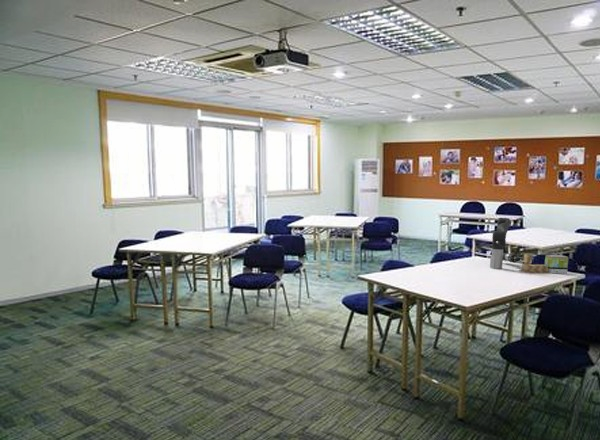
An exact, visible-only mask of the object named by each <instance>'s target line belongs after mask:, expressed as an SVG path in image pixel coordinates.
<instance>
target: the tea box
mask: <svg viewBox="0 0 600 440" xmlns="http://www.w3.org/2000/svg"><path fill="white" fill-rule="evenodd" d="M544 265H547V266H548V272H551V273H550V274H567V273H568V266H569V256H566V255H561V254H559V255H558V254H545V258H544Z"/></svg>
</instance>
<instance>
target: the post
mask: <svg viewBox="0 0 600 440" xmlns="http://www.w3.org/2000/svg"><path fill="white" fill-rule="evenodd" d="M523 258H524V261H523V264H526V265H532V263H531V262H532V254H530V253H524V254H523Z"/></svg>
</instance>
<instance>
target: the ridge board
mask: <svg viewBox="0 0 600 440" xmlns="http://www.w3.org/2000/svg"><path fill="white" fill-rule="evenodd" d="M519 272H523V273H527V274H551V273H550V272H548V266H547V265H545V264H531V265H526V264H524V263H523V264H522V267H521V269H519Z"/></svg>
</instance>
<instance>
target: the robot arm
mask: <svg viewBox="0 0 600 440" xmlns="http://www.w3.org/2000/svg"><path fill="white" fill-rule="evenodd" d="M496 225H497V227H496V230H493V232H492V245H491V256H490V258H489V259H490V260H489V268H490V269H494V270H501V269H503V263H504V262H503V260H505V261H508V262H511V263H517V262H524V256H523V257H521V256H519V255H517V254H515V253H509V252H507V249H506V246H507V245H506V243H507V240H506V238H507V234H508V231H509V229H510V228H509V227H510V226H511V220H510V218H508V217H498V219H497V224H496Z"/></svg>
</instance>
